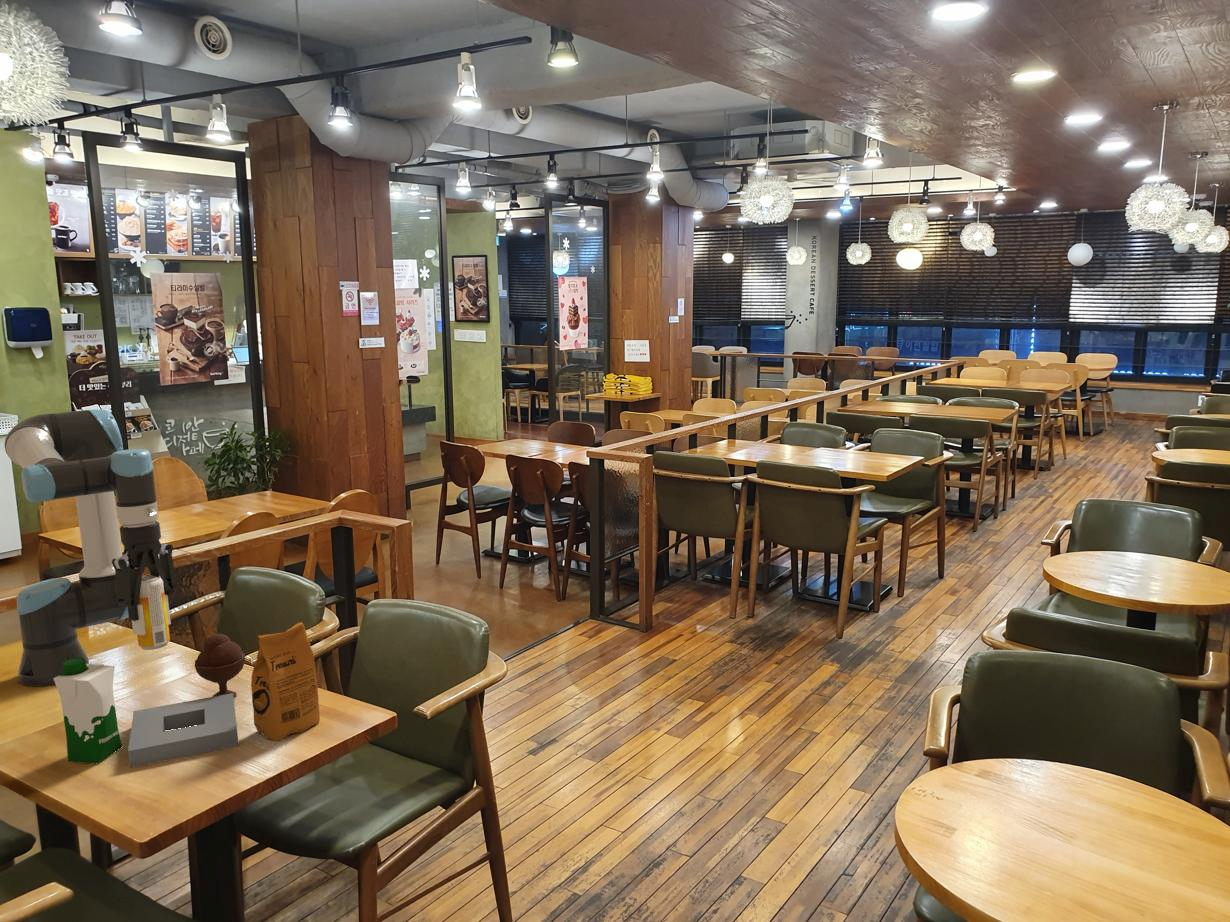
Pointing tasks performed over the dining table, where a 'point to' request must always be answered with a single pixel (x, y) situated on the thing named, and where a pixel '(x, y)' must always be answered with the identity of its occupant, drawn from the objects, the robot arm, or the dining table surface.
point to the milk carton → (88, 710)
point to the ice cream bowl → (220, 662)
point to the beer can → (153, 613)
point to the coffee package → (284, 684)
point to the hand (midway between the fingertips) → (152, 628)
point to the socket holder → (182, 729)
